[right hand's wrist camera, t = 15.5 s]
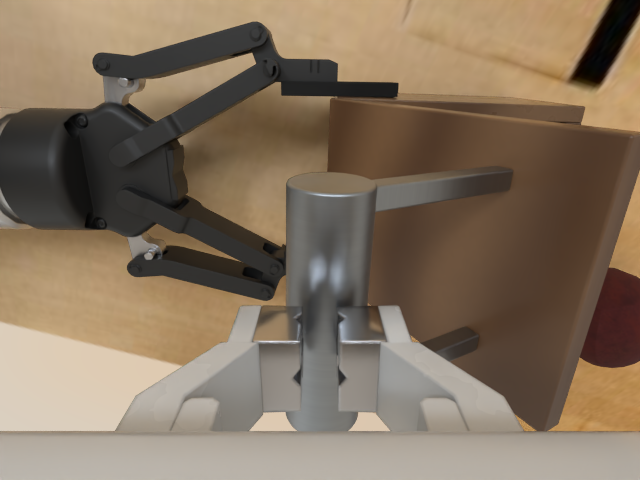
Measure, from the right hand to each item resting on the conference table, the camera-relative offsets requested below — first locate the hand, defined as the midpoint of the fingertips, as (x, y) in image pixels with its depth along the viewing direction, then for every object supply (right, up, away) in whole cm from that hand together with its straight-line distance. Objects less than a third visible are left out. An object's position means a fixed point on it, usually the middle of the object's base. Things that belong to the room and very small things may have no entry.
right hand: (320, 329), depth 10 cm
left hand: (+4, +6, +16) cm, 18 cm away
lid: (+5, +3, +7) cm, 9 cm away
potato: (+23, -3, +26) cm, 35 cm away
